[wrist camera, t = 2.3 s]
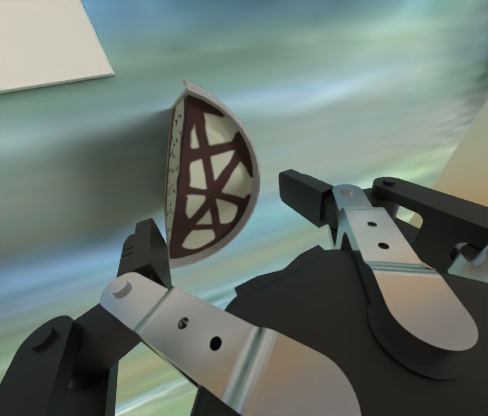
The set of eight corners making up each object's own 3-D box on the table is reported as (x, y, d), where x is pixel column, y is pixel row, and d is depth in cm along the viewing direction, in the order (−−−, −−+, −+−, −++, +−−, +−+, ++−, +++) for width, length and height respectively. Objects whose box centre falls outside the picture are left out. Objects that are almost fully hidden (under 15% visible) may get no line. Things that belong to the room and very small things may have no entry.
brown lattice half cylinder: (213, 212, 24) (243, 266, 16) (162, 211, 21) (167, 275, 13) (234, 109, 19) (291, 112, 11) (172, 89, 16) (189, 74, 8)
